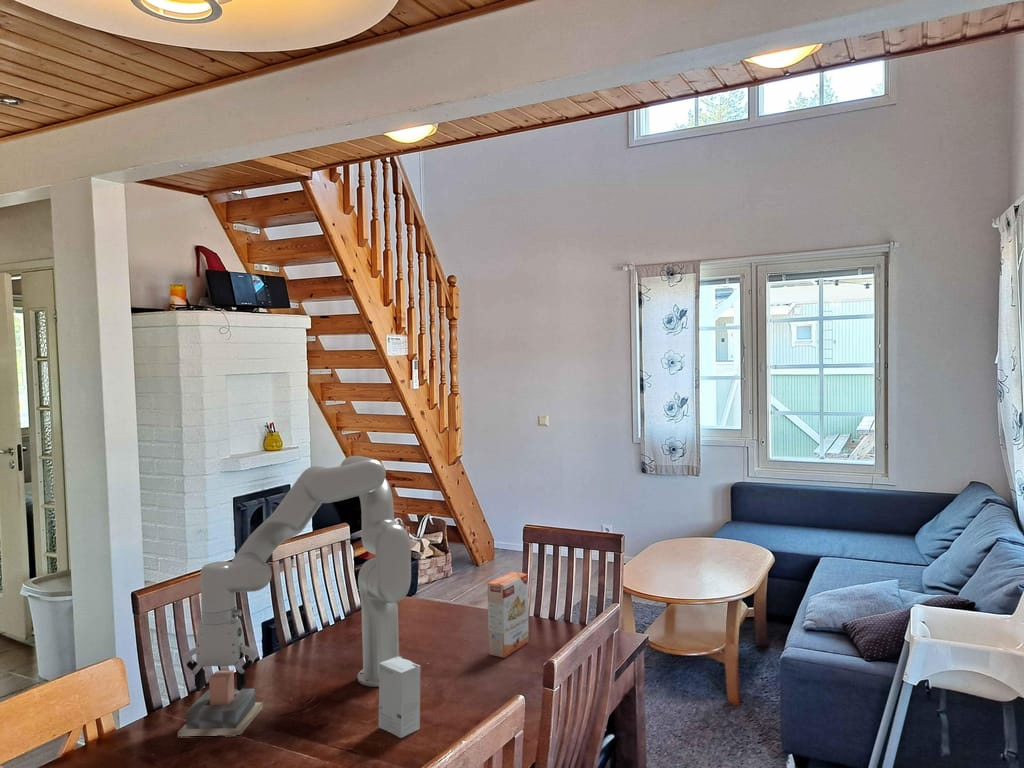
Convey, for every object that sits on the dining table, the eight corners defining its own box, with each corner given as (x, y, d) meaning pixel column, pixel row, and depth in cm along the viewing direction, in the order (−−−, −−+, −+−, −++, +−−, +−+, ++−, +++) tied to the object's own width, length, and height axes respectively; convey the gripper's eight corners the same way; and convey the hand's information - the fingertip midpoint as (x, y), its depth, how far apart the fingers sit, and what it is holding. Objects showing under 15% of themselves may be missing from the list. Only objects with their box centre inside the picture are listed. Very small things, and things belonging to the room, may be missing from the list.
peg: (234, 712, 165) (233, 670, 165) (227, 720, 161) (226, 677, 161) (218, 712, 165) (217, 670, 165) (210, 720, 161) (209, 677, 161)
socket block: (262, 707, 170) (262, 686, 170) (239, 736, 156) (238, 713, 156) (206, 708, 170) (205, 687, 170) (177, 737, 156) (177, 714, 156)
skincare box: (378, 728, 158) (376, 663, 158) (398, 718, 162) (396, 654, 162) (402, 739, 152) (400, 672, 152) (422, 728, 157) (420, 663, 157)
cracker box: (505, 659, 195) (503, 585, 195) (487, 655, 198) (485, 582, 199) (530, 642, 207) (528, 573, 207) (513, 639, 210) (511, 570, 210)
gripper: (261, 609, 167) (263, 681, 167) (190, 611, 167) (192, 682, 167) (249, 620, 159) (251, 695, 159) (174, 622, 159) (176, 696, 159)
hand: (221, 688), depth 163 cm, fingers open, 9 cm apart
